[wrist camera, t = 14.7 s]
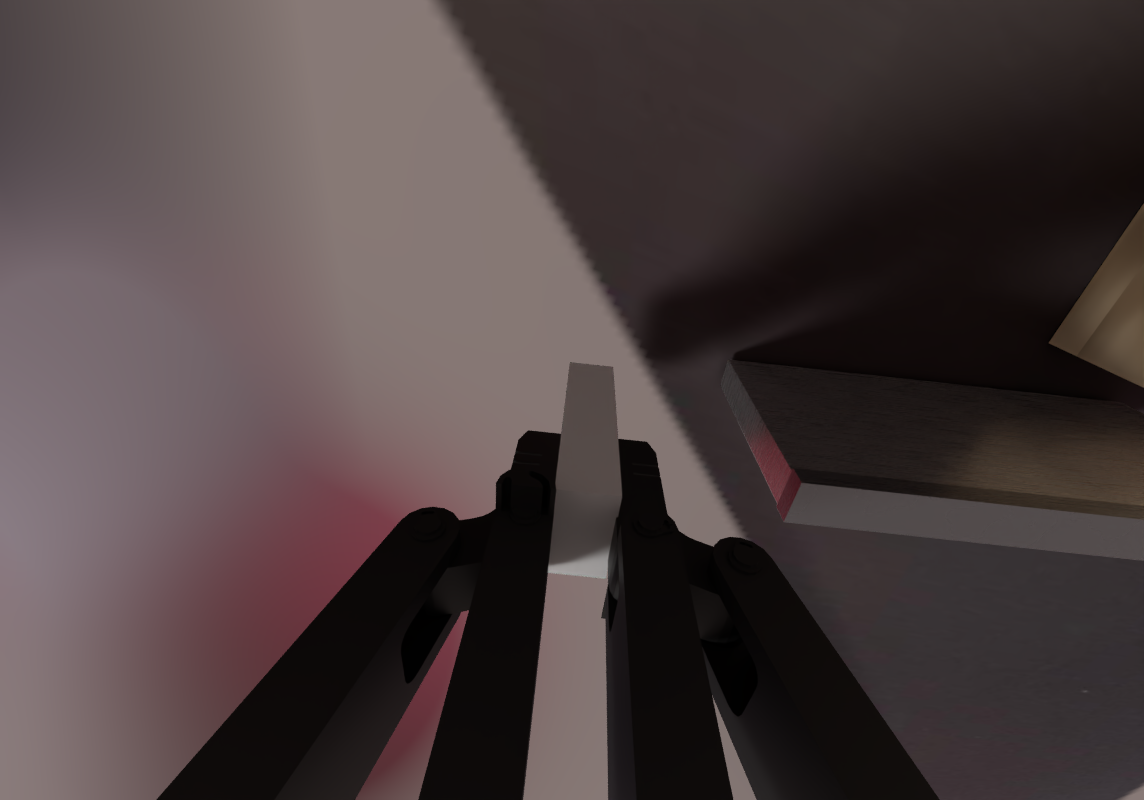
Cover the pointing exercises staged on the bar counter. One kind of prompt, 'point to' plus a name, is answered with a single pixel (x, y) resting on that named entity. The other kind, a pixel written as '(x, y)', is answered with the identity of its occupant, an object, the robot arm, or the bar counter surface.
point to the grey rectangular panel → (945, 459)
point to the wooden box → (1112, 311)
